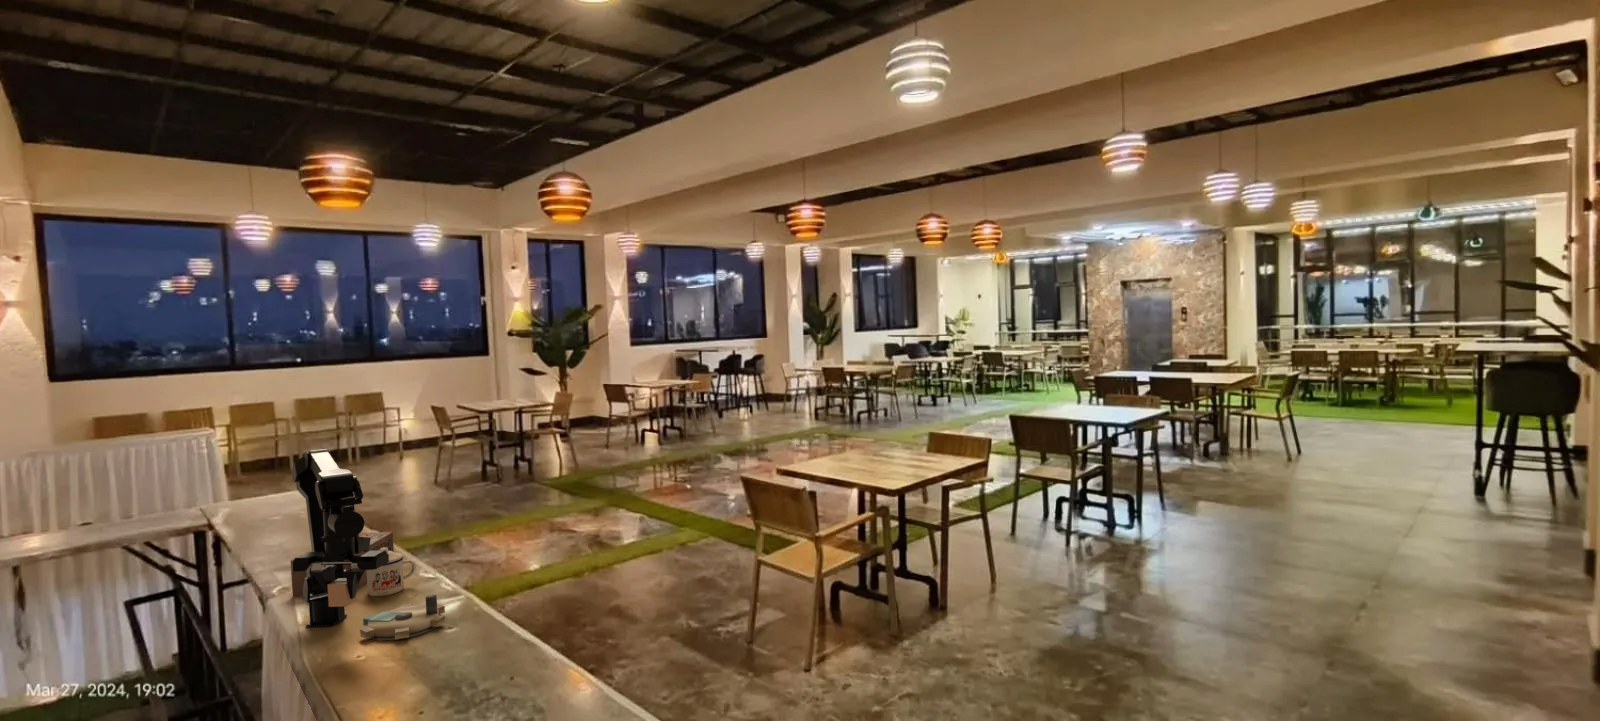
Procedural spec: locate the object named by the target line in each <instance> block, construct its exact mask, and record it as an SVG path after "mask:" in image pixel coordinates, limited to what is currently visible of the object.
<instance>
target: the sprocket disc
mask: <svg viewBox="0 0 1600 721" xmlns="http://www.w3.org/2000/svg"><path fill="white" fill-rule="evenodd" d="M437 597H438V596H437V594H428V595H426V596H425V605H413V603H406V604H401V605H398V607H396V608H394V609H390V610H387V611H381V612H380V613H378V614H372V613H370V614H369V615H368V616H366V617H364V618H363V619H362V622H363V623H362V625H363V626H365V627H363V628H360V629H359V634H360V637H361V638H364V639H365V640H369V638H371V637H374V636H378V637H395V640H394V641H397V640H396V639H401V638H407V637H409V634H412V633H416V632H419V631H422V630H424V629H427V628H429V627H436V628H439V627H440V626H442V625H443V624H445V623H446V621H445V620H446V619H445V615H442V614H444V613H446V609H445V608H446V607H445V605H443V604H440V603H438V598H437ZM407 639H408V638H407ZM401 640H402V639H401Z"/></svg>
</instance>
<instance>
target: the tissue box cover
mask: <svg viewBox="0 0 1600 721" xmlns="http://www.w3.org/2000/svg"><path fill="white" fill-rule="evenodd" d="M359 537H368V538H371V540H370V547H369V551H377V550H380V549H381V548H388V551H392V552H395V549H394V545H395V544H394V531H389V532H388V531H384V532H382V531H381V532H361V533H359ZM308 552H312V549H311V550H309V551H308ZM365 553H367V552H364V551H362V552H361V553H359V554H355V555H356V556H361V555H363V554H365ZM294 559H295V558H293V559H291V560H290V571H291V573H290V574H291V586H292V587H291V590H292V592H291V593H292V597H293V598H295V597H297V598H298V597H303V585H304V580H305V578H307V573H306V571H307V570H306V571H292V562H293V560H294ZM344 561H349V560H344ZM343 569H344V570H346V571H348V570H350V569H351V565H343ZM366 584H367V571H366V570H365V572H364V574H363V576H362V578H361V580H360V583H359V586H358V589H359V588H361V587H362V586H364V585H366ZM310 594H312V593H310Z"/></svg>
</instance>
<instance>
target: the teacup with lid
mask: <svg viewBox="0 0 1600 721" xmlns="http://www.w3.org/2000/svg"><path fill="white" fill-rule="evenodd" d="M380 550H385V551H386V552H387V553H388V555H389V562H388V563H386V564H384V565H382V566H381V567H379V568H377V569H374V570H366V571H367V583H366V585H367V586H366V587H367V594H368V595H369V596H372V597H383V596H389V595H394V594H396V593H398V592H401V591H402V590H403V589H404V587H405V583H404V582H405V581H404V580H405V579H409V578H410V577H412V576H413V575H414V573H415V571H416V566H417V565H416V563H415V562H414V561H413V560H411V559H404V555H403V554H402V553H401V552H395V551H394V552H392V551H388V548H381V549H380ZM404 564H411V566H412V567H411V571H410V572H409V573H408V574H405V575H404Z"/></svg>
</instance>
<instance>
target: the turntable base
mask: <svg viewBox="0 0 1600 721" xmlns="http://www.w3.org/2000/svg"><path fill="white" fill-rule="evenodd" d="M434 628H435V629H436V628H437V627H429V628H427V629H424V630H422V631H419V632H416V633H412V634H409V637H407V639H411V638H415V637H418V636H421V635H424V634H427V633H429V632H431V631H433V630H434ZM372 639H374V640H373V641H377V640H385V641H384V642H388V641H387V640H393V641H400V639H396V640H395V637H378V636H374V637H371V638H370V640H372ZM401 640H406V639H405V638H401Z"/></svg>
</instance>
